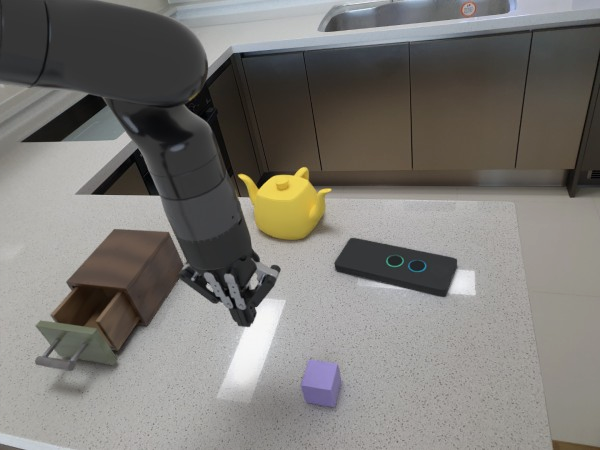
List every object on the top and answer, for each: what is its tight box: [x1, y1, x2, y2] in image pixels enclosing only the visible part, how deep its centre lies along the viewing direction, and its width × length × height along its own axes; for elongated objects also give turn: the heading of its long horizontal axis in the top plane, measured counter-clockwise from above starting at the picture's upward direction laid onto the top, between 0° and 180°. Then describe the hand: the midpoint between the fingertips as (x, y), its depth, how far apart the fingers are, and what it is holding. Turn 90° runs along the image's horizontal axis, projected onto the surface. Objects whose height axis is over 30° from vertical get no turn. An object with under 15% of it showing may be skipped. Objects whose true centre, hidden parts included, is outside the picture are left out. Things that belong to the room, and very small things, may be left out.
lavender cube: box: [300, 358, 342, 408], centre depth 64 cm, size 4×4×4 cm
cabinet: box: [65, 228, 185, 327], centre depth 85 cm, size 15×13×10 cm
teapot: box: [237, 166, 332, 241], centre depth 95 cm, size 22×16×11 cm
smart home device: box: [333, 237, 458, 297], centre depth 81 cm, size 8×2×20 cm
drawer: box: [34, 286, 140, 372], centre depth 77 cm, size 18×11×8 cm, turn 163°
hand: (247, 321), depth 59 cm, fingers closed
